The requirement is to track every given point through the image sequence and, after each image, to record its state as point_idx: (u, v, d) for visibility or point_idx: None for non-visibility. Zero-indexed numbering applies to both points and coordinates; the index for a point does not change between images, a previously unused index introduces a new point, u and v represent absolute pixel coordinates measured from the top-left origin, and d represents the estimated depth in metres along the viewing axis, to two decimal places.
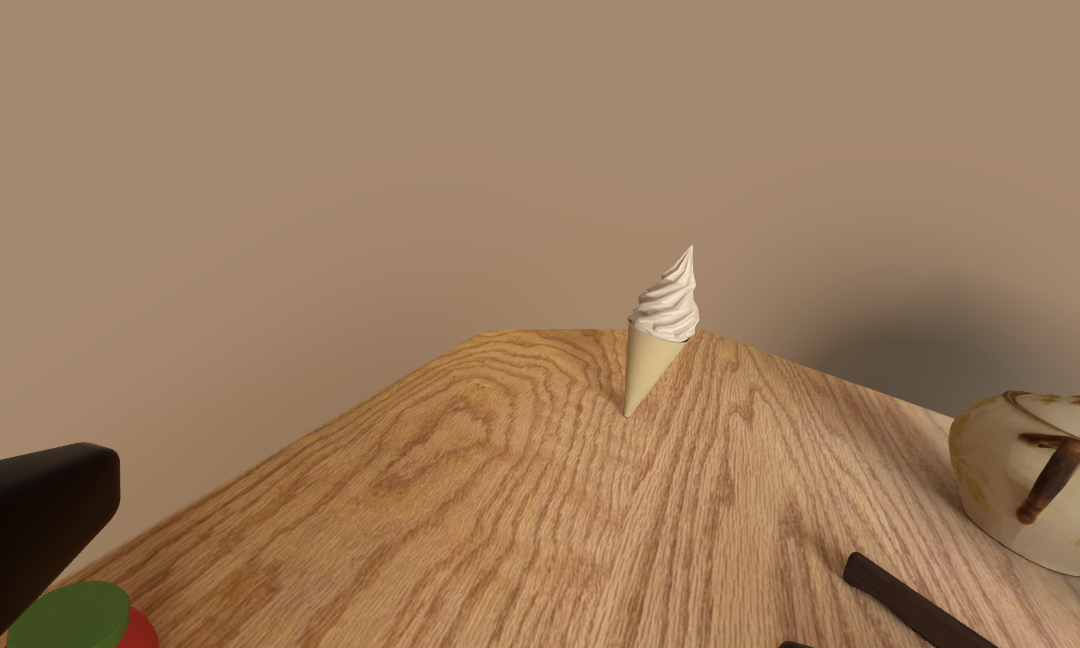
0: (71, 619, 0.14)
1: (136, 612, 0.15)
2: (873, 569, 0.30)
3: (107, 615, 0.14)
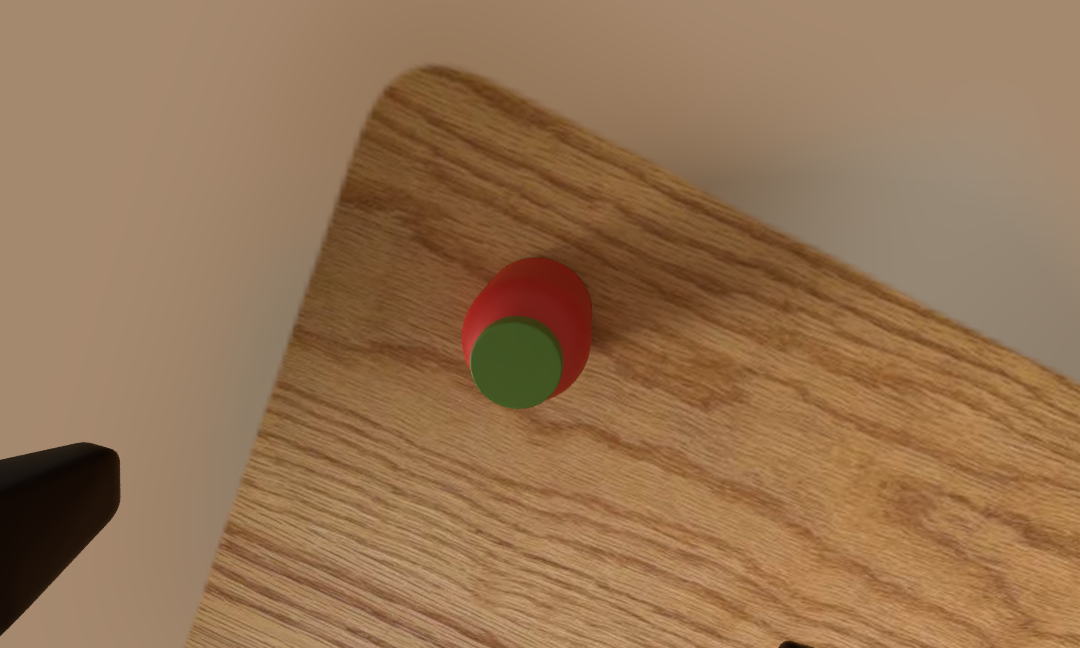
0: (514, 367, 0.14)
1: (564, 382, 0.15)
2: None
3: (522, 393, 0.14)
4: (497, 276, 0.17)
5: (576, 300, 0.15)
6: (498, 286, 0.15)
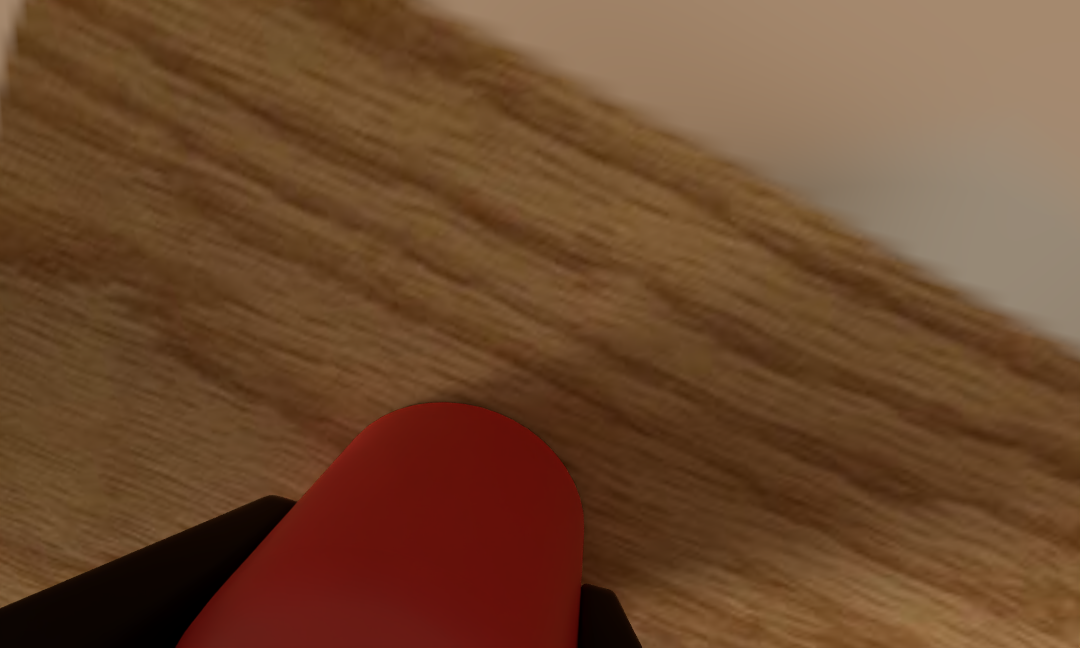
0: None
1: None
2: None
3: None
4: (317, 487, 0.06)
5: (522, 640, 0.04)
6: (240, 614, 0.04)
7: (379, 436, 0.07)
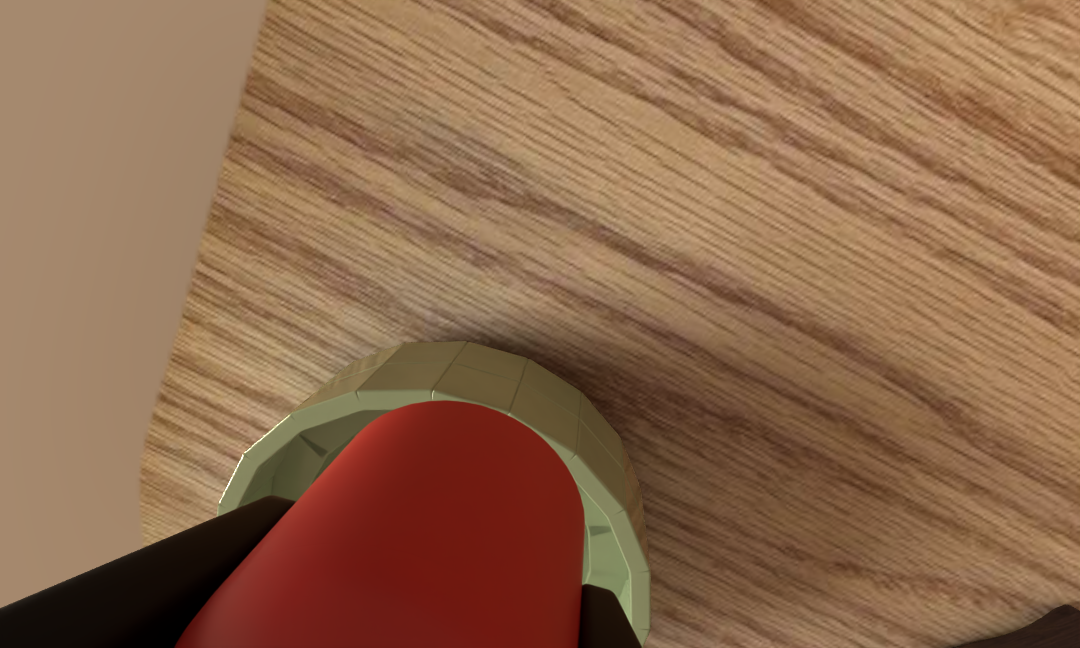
0: None
1: None
2: None
3: None
4: (317, 485, 0.06)
5: (523, 638, 0.04)
6: (240, 611, 0.04)
7: (380, 434, 0.07)
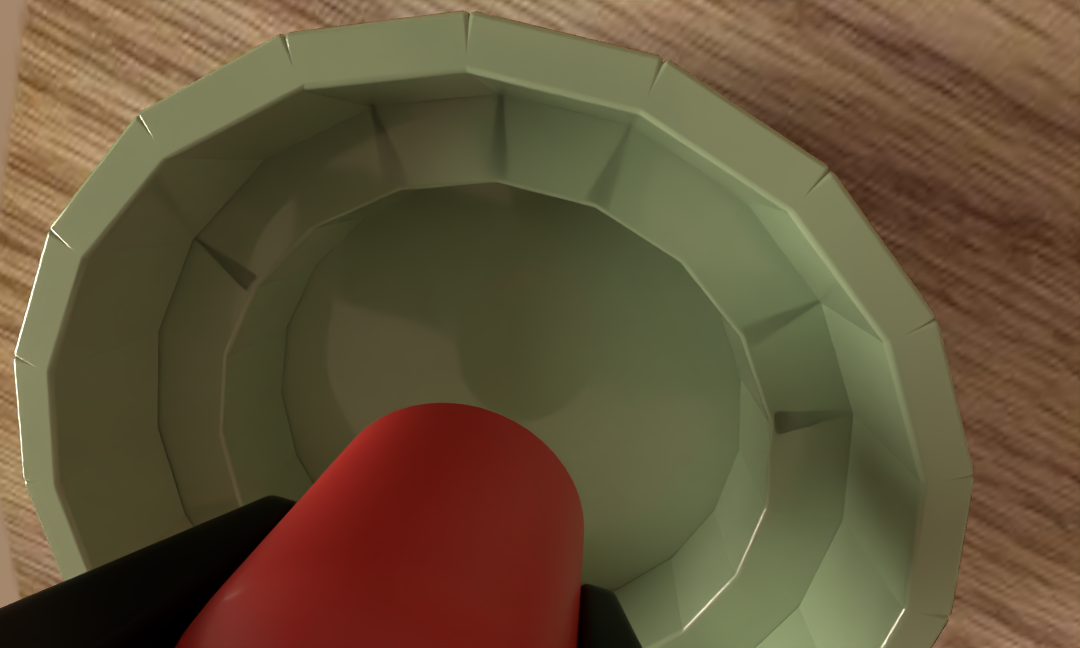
0: None
1: None
2: None
3: None
4: (317, 487, 0.06)
5: (522, 642, 0.04)
6: (239, 615, 0.04)
7: (379, 437, 0.07)
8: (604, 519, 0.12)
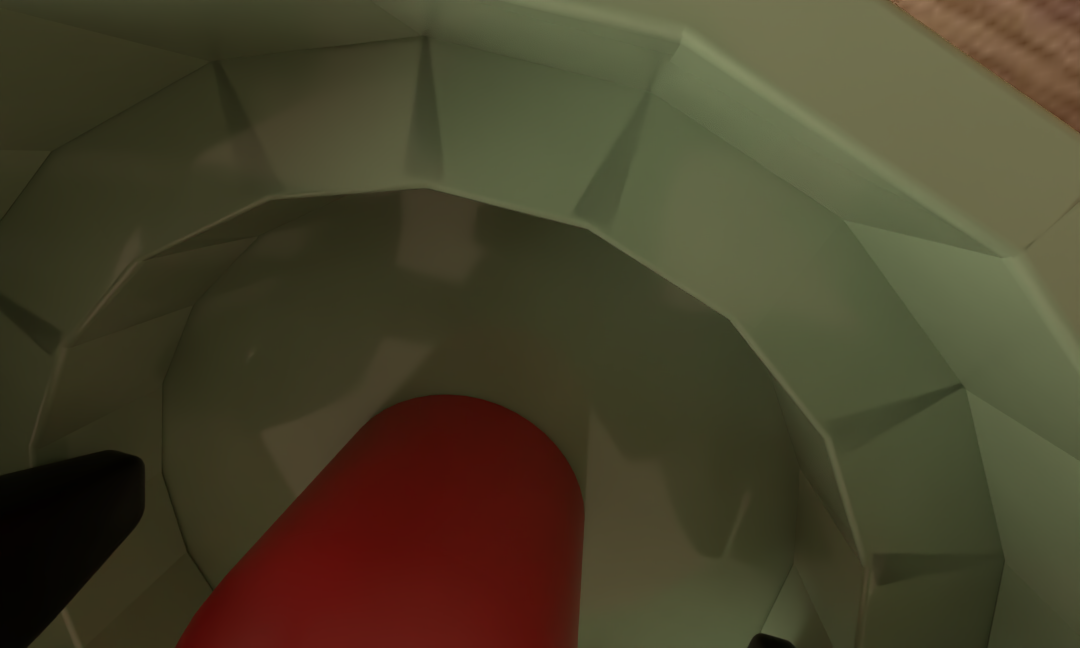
0: None
1: None
2: None
3: None
4: (323, 475, 0.06)
5: (524, 621, 0.05)
6: (250, 593, 0.04)
7: (383, 427, 0.07)
8: (603, 646, 0.08)
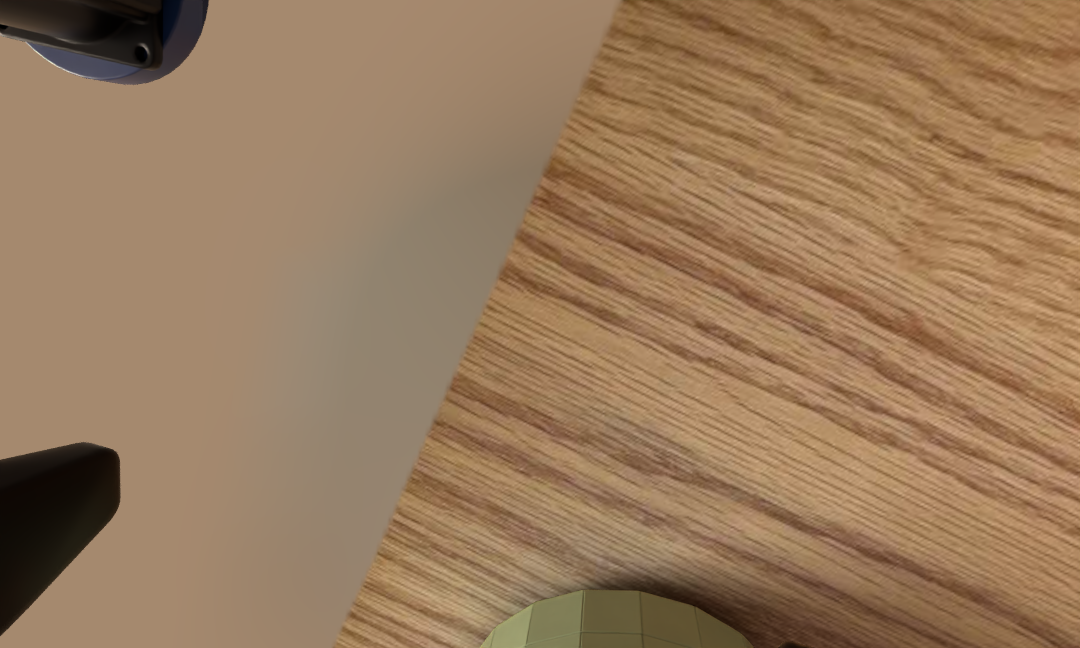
0: None
1: None
2: None
3: None
4: None
5: None
6: None
7: None
8: None
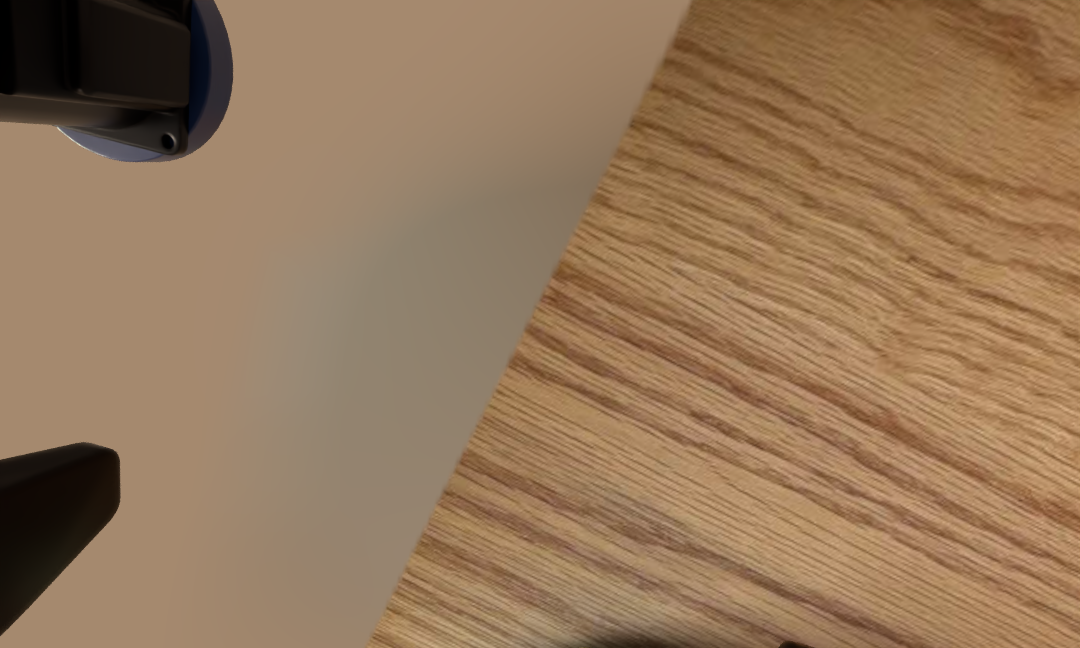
0: None
1: None
2: None
3: None
4: None
5: None
6: None
7: None
8: None
